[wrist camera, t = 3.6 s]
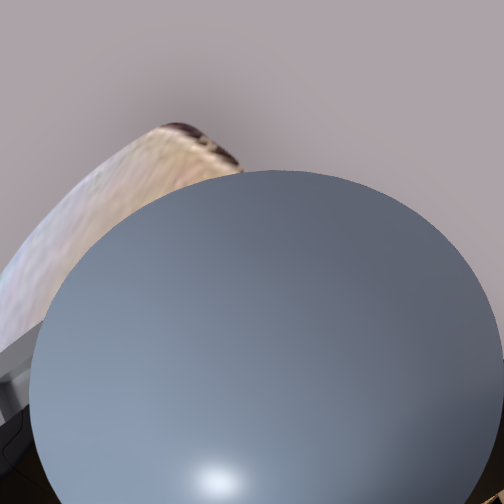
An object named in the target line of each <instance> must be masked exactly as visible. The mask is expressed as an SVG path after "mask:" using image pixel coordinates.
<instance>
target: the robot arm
mask: <svg viewBox="0 0 504 504" xmlns="http://www.w3.org/2000/svg"><path fill="white" fill-rule="evenodd" d="M503 362H504V359H503ZM496 494H497V495H496ZM495 495H496V496H495ZM493 496H495V497H494V498H493V499H492V500H490V501H489V502H488V503H487V504H504V398H503V406H502V413H501V419H500V424H499V428H498V432H497V435H496V439H495V442H494V446H493V449H492V451H491V454H490V456H489V459H488V461H487V464H486V466H485V468H484V471H483V473H482V474H481V476H480V478H479V480H478V482H477V484H476V486H475V487H474V489H473V491H472V492H471V494H470V496H469V497H468V499H467V500H466V501H465V503H464V504H482V503H483V502H485V501H487V500H488V499H490V498H492V497H493ZM0 504H62V503H61V502H60V500H59V498H58V497H57V495H56V493H55V491H54V490H53V488H52V486H51V484H50V482H49V480H48V478H47V475H46V473H45V471H44V468H43V466H42V463H41V460H40V458H39V455H38V452H37V448H36V444H35V440H34V435H33V431H32V426H31V417H30V404H27V405H26V406H25V407H24V409H21V410H20V411H19V412H18V413H17V414H15V415H14V416H13V417H12V418H10V419H9V420H8V421H6V422H5V423H4V424H2V425H1V426H0Z"/></svg>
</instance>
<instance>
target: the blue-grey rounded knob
mask: <svg viewBox="0 0 504 504" xmlns="http://www.w3.org/2000/svg"><path fill="white" fill-rule="evenodd" d="M503 398H504V362H503V354H502V346H501V340H500V336H499V332H498V328H497V324H496V321H495V317H494V314H493V312H492V309H491V307H490V304H489V301H488V299H487V297H486V295H485V292H484V291H483V289H482V287H481V285H480V283H479V281H478V279H477V278H476V276H475V274H474V272H473V271H472V269H471V268H470V267H469V265H468V264H467V262H466V261H465V260H464V258H463V257H462V256H461V254H460V253H459V252H458V250H457V249H456V248H455V247H454V246H453V245H452V244H451V243H450V242H449V241H448V240H447V239H446V238H445V236H443V234H441V232H440V231H438V230H437V229H436V228H435V227H434V226H433V225H431V224H430V223H429V222H428V221H426V220H425V219H424V218H423V217H421V216H420V215H419V214H418V213H416V212H414V211H413V210H411V209H410V208H408V207H406V206H405V205H403V204H402V203H400V202H398V201H396V200H395V199H393V198H391V197H389V196H387V195H385V194H383V193H380V192H378V191H376V190H374V189H371V188H369V187H367V186H364V185H361V184H358V183H355V182H351V181H348V180H345V179H341V178H338V177H333V176H328V175H322V174H316V173H310V172H300V171H279V170H278V171H277V170H270V171H257V172H245V173H237V174H232V175H227V176H222V177H218V178H213V179H209V180H205V181H202V182H199V183H196V184H193V185H190V186H187V187H184V188H182V189H179V190H176V191H174V192H171V193H169V194H167V195H165V196H163V197H161V198H159V199H157V200H155V201H153V202H151V203H149V204H147V205H145V206H144V207H142V208H141V209H139V210H137V211H136V212H135V213H133V214H132V215H130V216H129V217H127V218H126V219H124V220H123V221H121V222H120V223H118V224H117V225H116V226H114V227H113V228H112V229H111V230H110V231H109V232H108V233H106V234H105V235H104V236H103V237H102V238H101V239H100V240H99V241H98V242H96V243H95V244H94V245H93V246H92V247H91V248H90V249H89V250H88V251H87V253H86V254H85V255H84V256H83V257H82V258H81V260H80V261H79V262H78V263H77V264H76V266H75V267H74V268H73V269H72V271H71V272H70V273H69V274H68V276H67V278H66V279H65V281H64V282H63V284H62V285H61V287H60V289H59V290H58V292H57V294H56V295H55V297H54V299H53V301H52V302H51V305H50V307H49V309H48V311H47V314H46V316H45V318H44V321H43V323H42V326H41V328H40V331H39V334H38V338H37V342H36V346H35V350H34V354H33V358H32V364H31V373H30V385H29V404H30V417H31V426H32V431H33V435H34V440H35V444H36V448H37V452H38V455H39V458H40V460H41V463H42V466H43V468H44V471H45V473H46V475H47V478H48V480H49V482H50V484H51V486H52V488H53V490H54V491H55V493H56V495H57V497H58V498H59V500H60V502H61V503H62V504H464V503H465V501H466V500H467V499H468V497H469V496H470V494H471V492H472V491H473V489H474V487H475V486H476V484H477V482H478V480H479V478H480V476H481V474H482V473H483V471H484V468H485V466H486V464H487V461H488V459H489V456H490V454H491V451H492V449H493V446H494V442H495V439H496V435H497V432H498V428H499V424H500V419H501V413H502V406H503Z"/></svg>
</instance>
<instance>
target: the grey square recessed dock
mask: <svg viewBox="0 0 504 504" xmlns="http://www.w3.org/2000/svg"><path fill="white" fill-rule="evenodd" d="M43 321H44V320H43ZM43 321H41V322H40V323H39V324H37V325H36V326H35V327H33V328H32V329H31V330H29V331H28V332H27V333H25V334H24V335H23V336H21V337H20V338H19V339H18V340H16V341H15V342H14V343H12V344H11V345H10V346H9V347H7V348H6V349H5V350H4V351H2V352H1V353H0V426H1V425H2V424H4V423H5V422H6V421H8V420H9V419H10V418H12V417H13V416H14V415H15V414H17V413H18V412H19V411H20V410H21V409H24V407H25V406H26V405H27V404H29V385H30V373H31V364H32V358H33V354H34V350H35V346H36V342H37V338H38V334H39V331H40V328H41V326H42V323H43Z"/></svg>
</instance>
